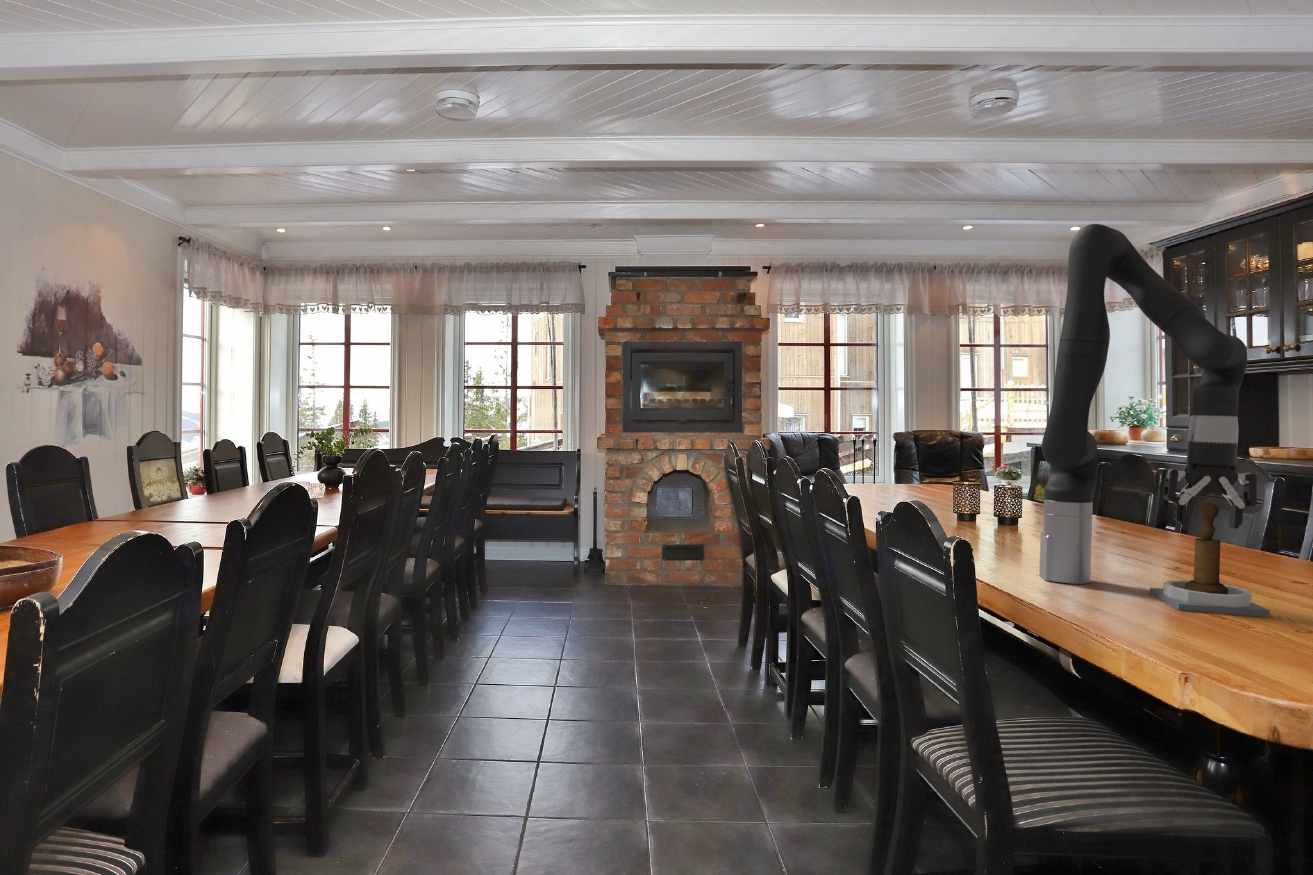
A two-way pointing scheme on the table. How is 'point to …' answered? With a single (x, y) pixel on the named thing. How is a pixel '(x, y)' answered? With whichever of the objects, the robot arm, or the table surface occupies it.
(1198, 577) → the brown tall stepped piece
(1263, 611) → the ring board
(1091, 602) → the table surface
